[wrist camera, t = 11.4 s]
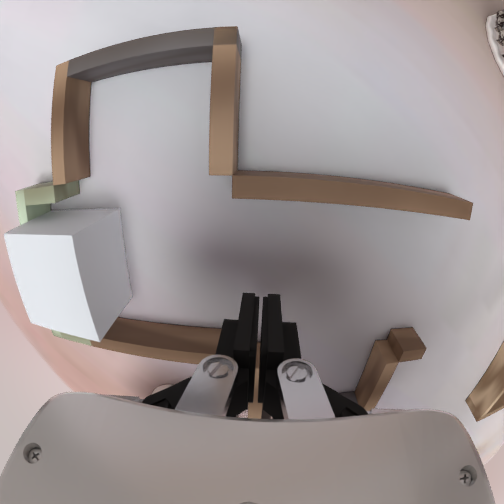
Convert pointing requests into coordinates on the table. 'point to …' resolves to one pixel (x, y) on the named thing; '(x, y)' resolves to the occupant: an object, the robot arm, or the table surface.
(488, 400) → the rectangular wooden frame
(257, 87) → the table surface
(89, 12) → the table surface
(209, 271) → the table surface
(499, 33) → the white patterned cylinder
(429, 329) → the table surface
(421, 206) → the zigzag wooden frame
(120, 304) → the block
